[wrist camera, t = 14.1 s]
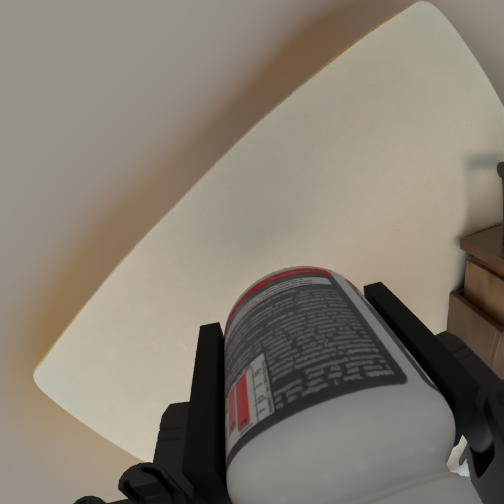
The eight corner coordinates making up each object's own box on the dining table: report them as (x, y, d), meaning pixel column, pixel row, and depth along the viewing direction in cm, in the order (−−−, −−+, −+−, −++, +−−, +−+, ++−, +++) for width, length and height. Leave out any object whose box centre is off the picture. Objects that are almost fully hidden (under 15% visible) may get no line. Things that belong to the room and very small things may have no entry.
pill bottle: (207, 364, 13) (197, 602, 3) (252, 241, 11) (327, 561, 2) (327, 389, 14) (394, 578, 4) (385, 284, 12) (549, 470, 3)
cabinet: (449, 293, 31) (501, 332, 21) (513, 265, 31) (561, 292, 21) (438, 382, 35) (471, 425, 26) (498, 350, 35) (533, 383, 26)
